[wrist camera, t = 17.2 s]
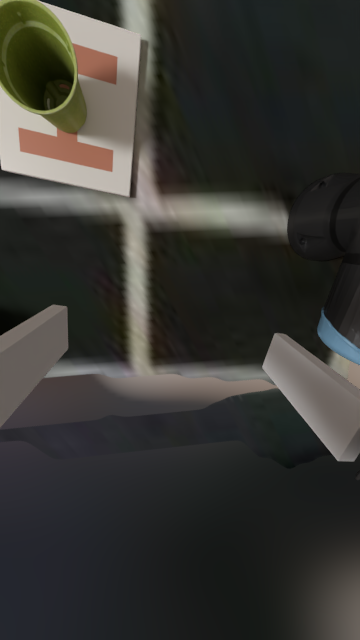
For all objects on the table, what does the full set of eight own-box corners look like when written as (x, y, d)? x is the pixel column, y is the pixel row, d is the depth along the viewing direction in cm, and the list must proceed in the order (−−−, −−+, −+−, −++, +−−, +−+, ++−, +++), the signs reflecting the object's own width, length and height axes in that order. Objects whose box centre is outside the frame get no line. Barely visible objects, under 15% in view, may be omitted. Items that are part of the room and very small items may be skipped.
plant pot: (26, 57, 28) (-28, -17, 20) (96, 70, 29) (72, 5, 21) (37, 141, 31) (-5, 106, 23) (100, 150, 32) (80, 120, 24)
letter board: (141, 41, 29) (140, 34, 28) (129, 197, 36) (129, 196, 35) (-14, -10, 26) (-21, -19, 25) (6, 171, 33) (1, 169, 32)
